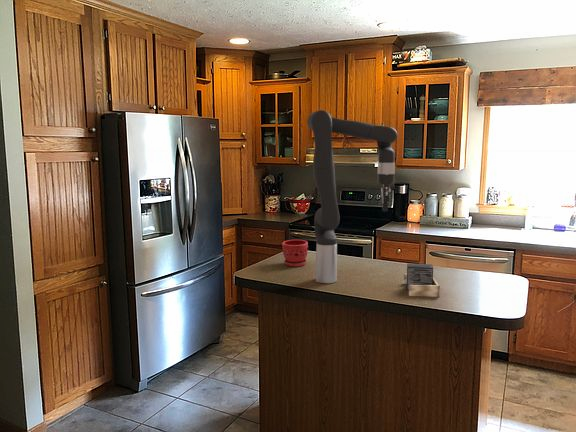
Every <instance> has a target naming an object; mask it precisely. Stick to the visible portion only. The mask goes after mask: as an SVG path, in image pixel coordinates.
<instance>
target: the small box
mask: <svg viewBox="0 0 576 432" xmlns="http://www.w3.org/2000/svg"><path fill="white" fill-rule="evenodd" d="M406 265H407V266H406V274H407V284H406V291H408V292H409V285H433V277H434V266H433V264H430V263H429V264H426V263H406Z"/></svg>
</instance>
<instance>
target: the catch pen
mask: <svg viewBox="0 0 576 432" xmlns="http://www.w3.org/2000/svg"><path fill="white" fill-rule="evenodd" d="M403 285H407V273H403ZM440 290H441V289H440V285H439V283H438V282H437V279H436V278H434V276H433V285H409V291H408V296H409V297H430V298H431V297H433V298H434V297H436V298H437V297H438V298H439V297H440Z"/></svg>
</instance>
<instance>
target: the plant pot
mask: <svg viewBox="0 0 576 432" xmlns="http://www.w3.org/2000/svg"><path fill="white" fill-rule="evenodd" d="M281 245H282V246H281V247H282V254H283V257H284V261H283V262H284V264H285V265H286V266H288V265H289V266H288V267H302V265H303V266H305V265H306V264H307V261H308V260H307V259H306V258H307V256H308V252H309V243H308V241H307V240H303V239H288V240H285V241H283V242H282V244H281Z"/></svg>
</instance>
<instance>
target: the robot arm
mask: <svg viewBox="0 0 576 432" xmlns="http://www.w3.org/2000/svg"><path fill="white" fill-rule="evenodd" d="M306 123H307V126H308V128H309V129H310V130H311V131H312V132H313V136H314V137H313V138H314V152H313V159H312V169H313V170H312V171H313V179H314V182H315V183H314V184H315V186H316V189H317V191H318V194H319V198H320V206H321V207H319V208H318V209H317V210H316V211H315V214H314V219H313V220H314V222H313V223H314V237H315V241H316V248H315V249H316V250H315V252H316V253H315V254H316V257H315V259H316V260H315V283H321V284H333V283H336V282H337V279H338V272H337V271H338V270H337V269H338V267H337V266H338V237H337V235H336V233H335V229H336V228H338V226H339V225H340V220H341V219H340V218H341V217H340V211H339V205H338V199H337V184H336V170H335V162H334V151H333V144H332V143H333V142H332V141H333V140H332V137H333V136H332V135H333V133H334V134H339V135H344V136H348V137H353V138H357V139H361V140H366V141H367V140H368V141H376V146H377V150H378V164H377V180H376V181H377V184H381V185H382V187H381V188H380V191H381V200H382V201H381V202H382V212H388V211H389V202H390V196H391V191H392V189H391V187H390V185H393V184H395V173H396V166H395V165H396V164H395V161H396V160H395V158H396V157H395V150H394V149H393V148H392V147H393V146H392V144H393V143H394V142H396V141H397V139H398V137H399V136H398V132H397V130H396V129H395V128H394V127H390V126H387V125H386V126H384V125H375V124H373V123H369V122H363V121H359V120H349V119H342V118H336V117H333V116H332V115H331V114H330V113H329V112H328V111H326V110H324V109H319V110H316V111H313V112H311V113H310V115H308V117H307V119H306Z"/></svg>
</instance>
